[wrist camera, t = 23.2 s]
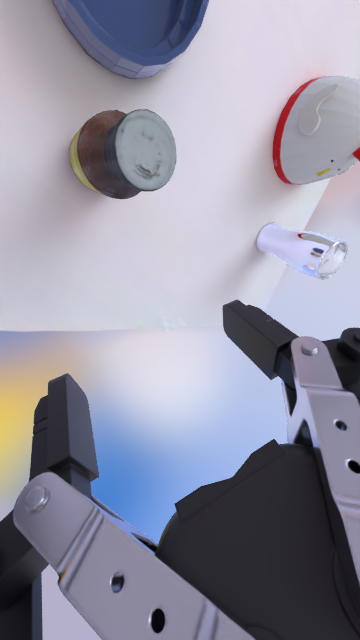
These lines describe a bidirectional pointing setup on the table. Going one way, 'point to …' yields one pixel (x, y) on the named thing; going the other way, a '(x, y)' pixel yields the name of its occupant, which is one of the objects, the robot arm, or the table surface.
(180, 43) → the bowl
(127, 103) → the table surface
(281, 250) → the beer glass
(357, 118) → the kitchen timer
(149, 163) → the sauce bottle
